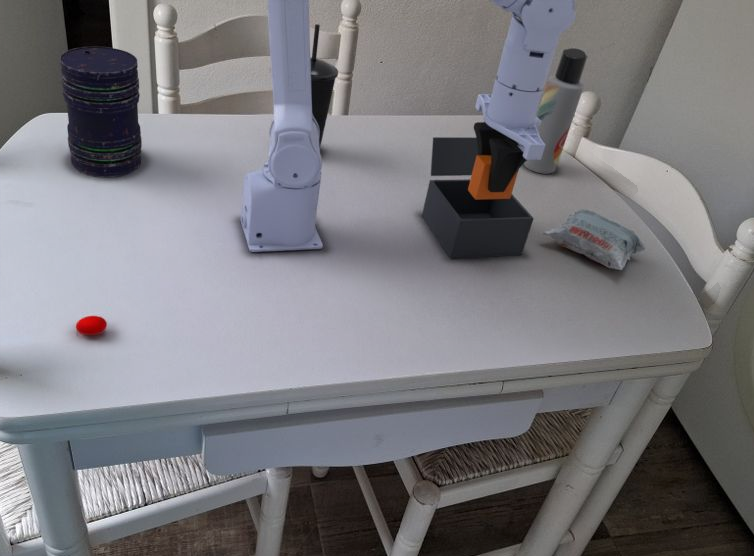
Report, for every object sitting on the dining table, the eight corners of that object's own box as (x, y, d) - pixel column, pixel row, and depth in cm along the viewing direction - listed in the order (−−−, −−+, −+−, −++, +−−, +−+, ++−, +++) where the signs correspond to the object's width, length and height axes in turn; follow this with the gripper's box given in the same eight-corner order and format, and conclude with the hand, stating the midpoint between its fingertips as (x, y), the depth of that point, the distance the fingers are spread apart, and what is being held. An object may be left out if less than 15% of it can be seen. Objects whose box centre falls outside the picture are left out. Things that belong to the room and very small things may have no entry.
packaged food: (616, 283, 94) (629, 253, 92) (538, 244, 100) (549, 214, 97) (640, 261, 100) (653, 232, 97) (565, 225, 106) (576, 196, 103)
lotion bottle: (559, 167, 122) (598, 52, 111) (548, 178, 118) (588, 60, 107) (529, 155, 124) (564, 42, 113) (517, 166, 120) (552, 49, 109)
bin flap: (431, 176, 98) (430, 175, 98) (499, 175, 101) (498, 174, 102) (433, 137, 96) (432, 137, 97) (503, 137, 100) (502, 137, 100)
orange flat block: (475, 199, 90) (484, 164, 87) (467, 189, 92) (476, 155, 89) (510, 198, 91) (520, 164, 88) (501, 189, 93) (511, 154, 90)
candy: (107, 326, 74) (106, 312, 73) (106, 339, 72) (105, 324, 71) (77, 327, 73) (75, 313, 72) (75, 340, 72) (73, 326, 70)
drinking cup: (326, 165, 111) (343, 36, 99) (278, 158, 110) (288, 29, 99) (328, 144, 117) (344, 21, 105) (282, 138, 116) (293, 13, 105)
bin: (421, 216, 102) (429, 179, 98) (488, 213, 105) (498, 178, 102) (450, 258, 94) (460, 220, 90) (521, 254, 97) (533, 218, 94)
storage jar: (156, 166, 103) (153, 65, 94) (95, 184, 96) (86, 78, 88) (116, 140, 108) (110, 42, 99) (56, 156, 101) (43, 52, 92)
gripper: (581, 108, 79) (545, 213, 86) (521, 61, 90) (495, 158, 97) (525, 107, 76) (494, 215, 84) (471, 59, 87) (448, 158, 95)
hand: (491, 184), depth 91 cm, fingers closed on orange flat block, 2 cm apart
